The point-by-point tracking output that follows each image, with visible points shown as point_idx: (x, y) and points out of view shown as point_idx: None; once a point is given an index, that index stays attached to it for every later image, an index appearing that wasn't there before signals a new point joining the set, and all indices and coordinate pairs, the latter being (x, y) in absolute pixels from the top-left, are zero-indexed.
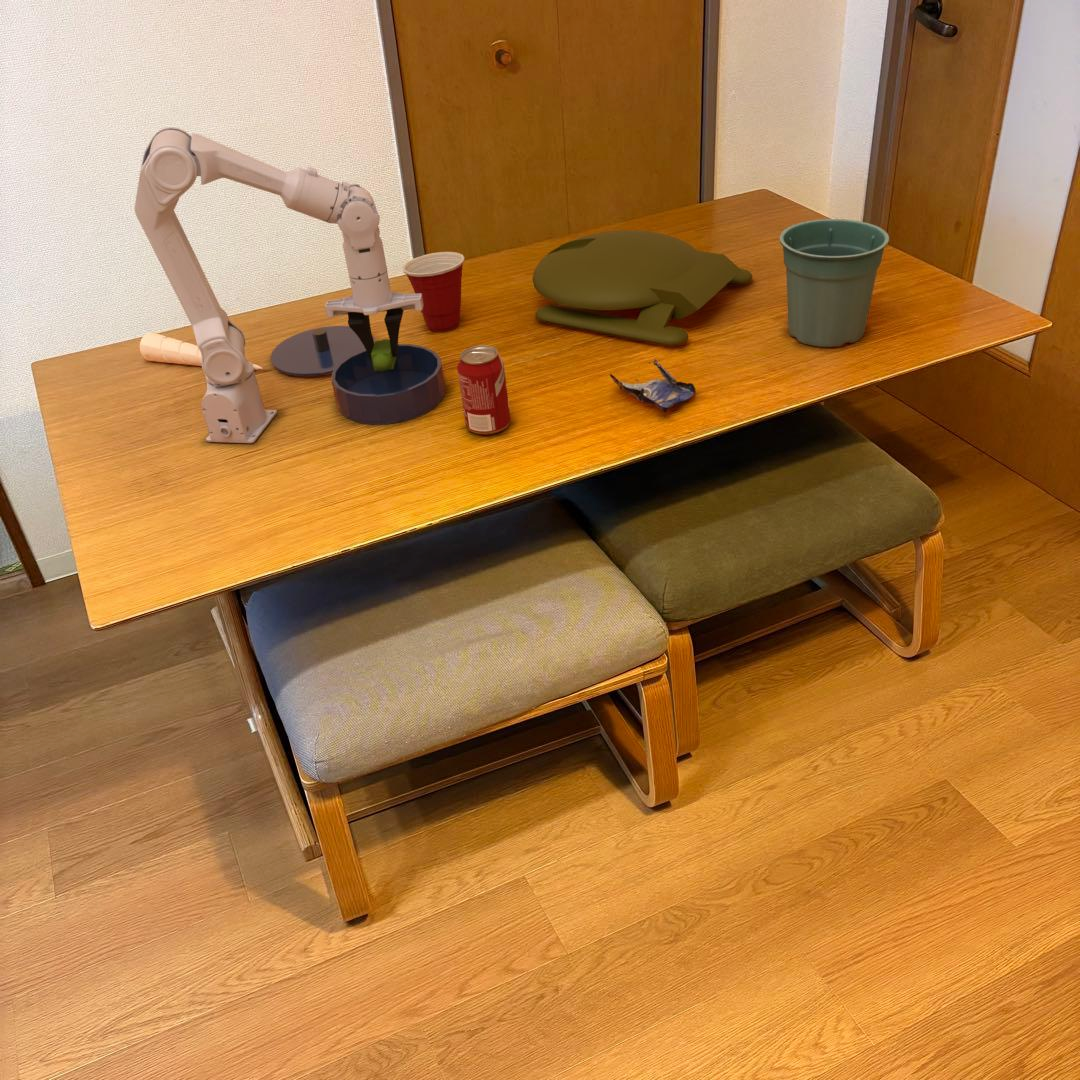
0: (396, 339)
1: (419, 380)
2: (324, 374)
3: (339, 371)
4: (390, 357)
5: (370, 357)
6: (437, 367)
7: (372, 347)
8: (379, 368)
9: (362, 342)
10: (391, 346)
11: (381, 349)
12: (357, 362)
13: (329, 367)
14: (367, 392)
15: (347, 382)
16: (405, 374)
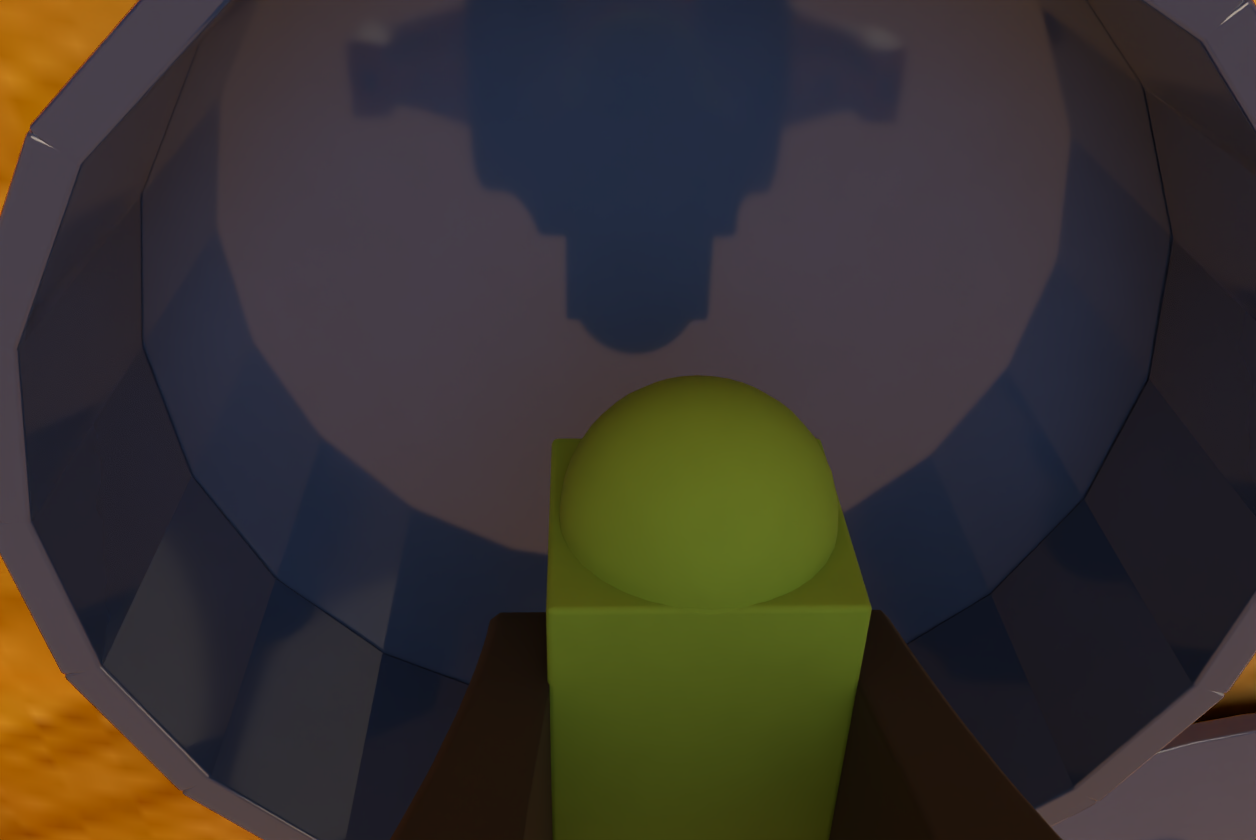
0: (398, 833)
1: (420, 553)
2: (1246, 715)
3: (1214, 592)
4: (556, 553)
5: (876, 619)
6: (15, 492)
7: (849, 768)
8: (732, 380)
9: (1033, 814)
10: (524, 731)
11: (706, 716)
12: (997, 749)
13: (1200, 784)
14: (893, 420)
15: (1084, 551)
16: None
